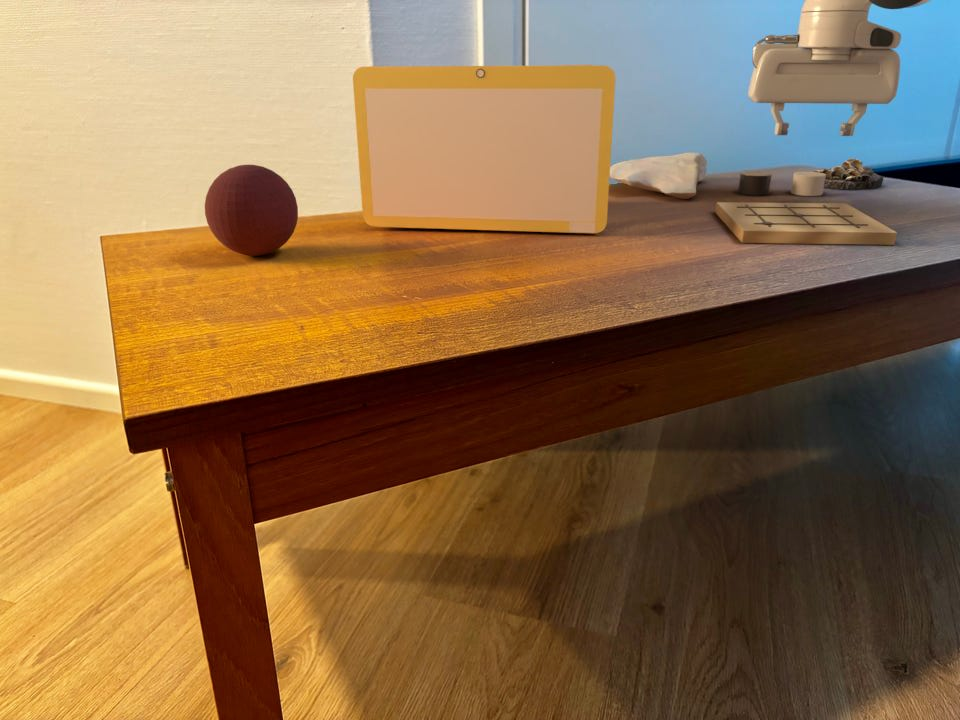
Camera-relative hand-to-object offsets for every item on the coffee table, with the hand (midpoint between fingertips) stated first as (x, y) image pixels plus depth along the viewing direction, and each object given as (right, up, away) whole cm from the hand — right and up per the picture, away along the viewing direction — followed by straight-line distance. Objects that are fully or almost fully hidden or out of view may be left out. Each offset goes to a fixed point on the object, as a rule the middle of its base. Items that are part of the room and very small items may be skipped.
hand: (813, 135), depth 110 cm
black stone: (-7, -8, +4) cm, 12 cm away
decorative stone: (-22, -6, +10) cm, 25 cm away
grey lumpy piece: (+10, -5, +11) cm, 15 cm away
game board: (-10, -17, -18) cm, 27 cm away
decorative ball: (-76, -22, -26) cm, 83 cm away
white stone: (+1, -8, +3) cm, 9 cm away
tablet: (-46, -16, -15) cm, 51 cm away
